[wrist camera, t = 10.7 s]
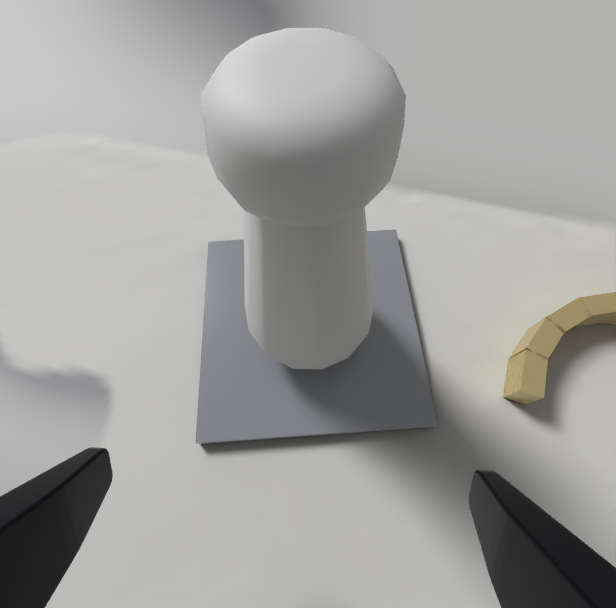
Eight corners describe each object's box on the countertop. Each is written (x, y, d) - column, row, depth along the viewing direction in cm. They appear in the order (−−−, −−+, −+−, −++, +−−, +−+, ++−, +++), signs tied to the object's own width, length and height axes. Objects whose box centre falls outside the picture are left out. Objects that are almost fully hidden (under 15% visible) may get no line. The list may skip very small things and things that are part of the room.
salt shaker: (247, 287, 19) (147, 2, 8) (350, 268, 20) (401, -29, 8) (262, 393, 17) (144, 209, 5) (379, 370, 17) (514, 151, 6)
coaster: (434, 426, 17) (438, 425, 16) (199, 444, 17) (195, 443, 16) (393, 235, 21) (395, 229, 21) (211, 247, 21) (208, 242, 21)
